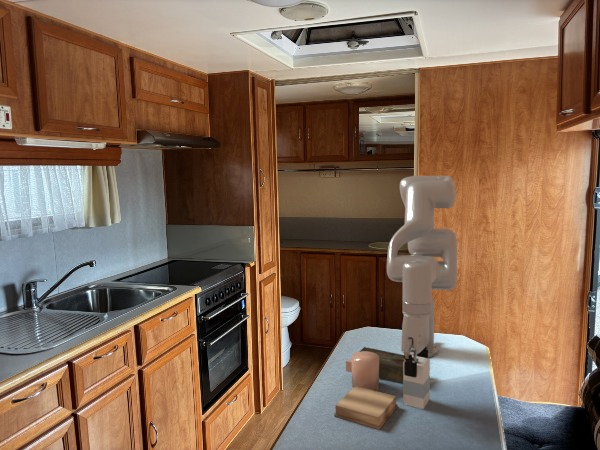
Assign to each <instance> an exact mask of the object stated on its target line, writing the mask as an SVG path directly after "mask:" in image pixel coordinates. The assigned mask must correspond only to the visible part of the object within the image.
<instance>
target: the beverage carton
mask: <svg viewBox="0 0 600 450" xmlns="http://www.w3.org/2000/svg"><path fill="white" fill-rule="evenodd" d="M360 351H368V352H373V353H376V354H377V355H378V356H379V379H380V378H381V379H380V380H385V381H391V382H393V383H398V384H403V362H404V354H400V353H396V352H390V351H385V350H381V349H377V348H373V347H372V348H371V347H365V346H363V348H362V349H360V350H359V351H358V352H360Z"/></svg>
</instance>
